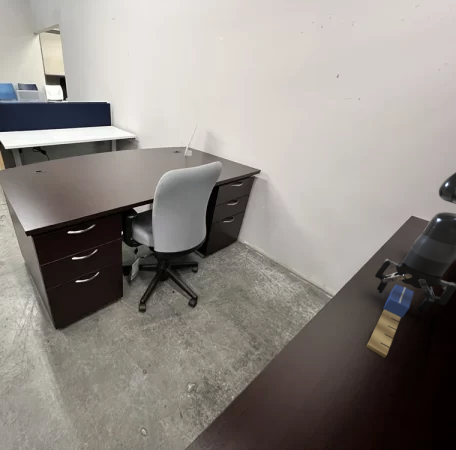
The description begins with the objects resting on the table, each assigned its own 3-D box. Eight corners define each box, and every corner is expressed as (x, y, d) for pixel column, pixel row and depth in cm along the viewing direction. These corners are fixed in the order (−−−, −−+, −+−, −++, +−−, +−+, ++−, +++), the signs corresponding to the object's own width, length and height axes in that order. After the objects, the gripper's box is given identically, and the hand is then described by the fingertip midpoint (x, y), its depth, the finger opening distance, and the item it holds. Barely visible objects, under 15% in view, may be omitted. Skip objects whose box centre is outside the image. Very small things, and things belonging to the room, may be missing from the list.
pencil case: (390, 293, 74) (396, 283, 73) (407, 300, 71) (414, 290, 70) (383, 308, 67) (390, 298, 65) (402, 317, 64) (409, 307, 62)
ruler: (383, 311, 67) (384, 308, 67) (399, 319, 65) (401, 316, 64) (365, 346, 57) (368, 343, 56) (384, 358, 55) (387, 355, 54)
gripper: (474, 261, 58) (435, 309, 66) (397, 237, 68) (371, 281, 75) (474, 273, 54) (432, 323, 61) (392, 245, 63) (365, 291, 71)
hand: (399, 300), depth 68 cm, fingers open, 8 cm apart
